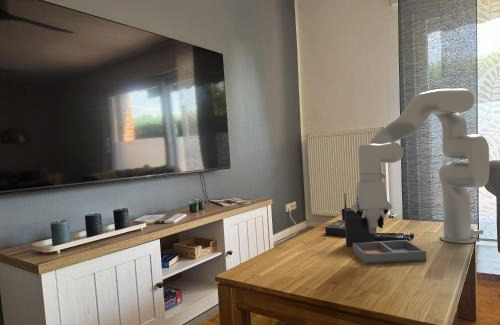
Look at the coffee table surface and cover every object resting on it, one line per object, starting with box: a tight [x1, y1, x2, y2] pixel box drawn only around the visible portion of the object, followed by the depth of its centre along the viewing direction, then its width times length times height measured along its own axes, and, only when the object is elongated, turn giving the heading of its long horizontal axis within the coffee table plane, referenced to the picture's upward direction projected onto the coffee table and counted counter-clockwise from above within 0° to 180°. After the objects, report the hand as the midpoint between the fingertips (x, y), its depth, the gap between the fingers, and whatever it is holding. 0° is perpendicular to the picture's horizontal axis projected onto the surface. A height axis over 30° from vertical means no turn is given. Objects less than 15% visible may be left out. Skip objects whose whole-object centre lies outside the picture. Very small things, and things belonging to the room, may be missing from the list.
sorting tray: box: [352, 239, 427, 266], centre depth 122 cm, size 21×14×4 cm, turn 90°
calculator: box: [343, 208, 376, 248], centre depth 137 cm, size 11×4×15 cm, turn 84°
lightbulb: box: [365, 207, 381, 235], centre depth 121 cm, size 6×6×11 cm
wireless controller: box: [324, 193, 348, 238], centre depth 161 cm, size 20×14×17 cm
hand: (372, 227), depth 122 cm, fingers closed on lightbulb, 5 cm apart
